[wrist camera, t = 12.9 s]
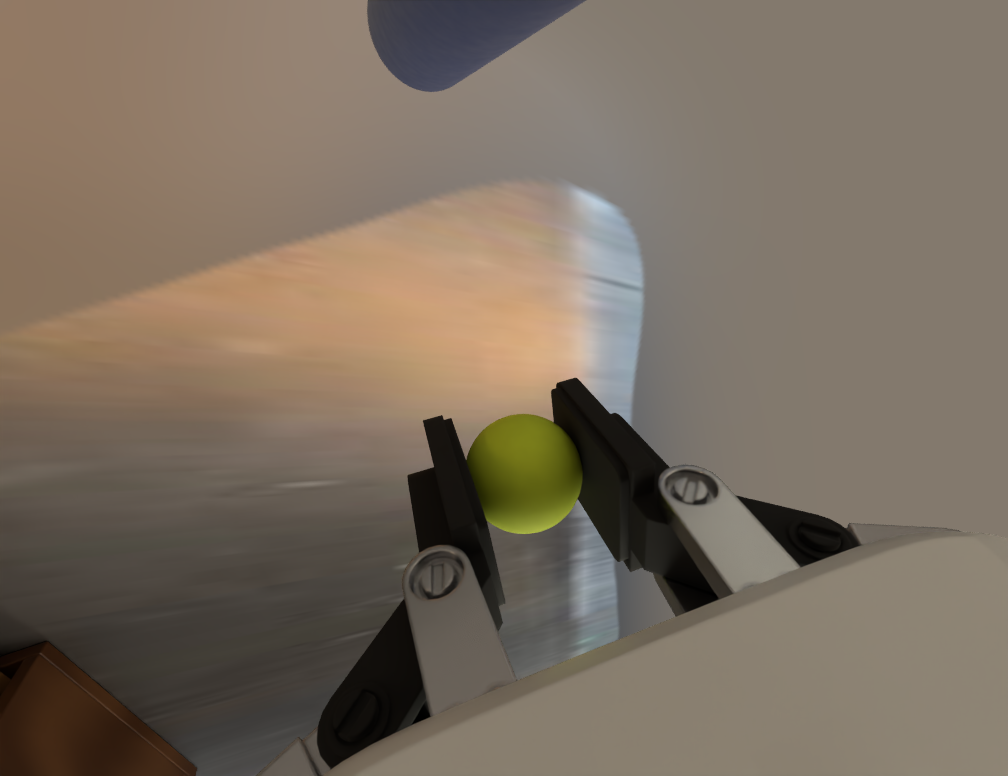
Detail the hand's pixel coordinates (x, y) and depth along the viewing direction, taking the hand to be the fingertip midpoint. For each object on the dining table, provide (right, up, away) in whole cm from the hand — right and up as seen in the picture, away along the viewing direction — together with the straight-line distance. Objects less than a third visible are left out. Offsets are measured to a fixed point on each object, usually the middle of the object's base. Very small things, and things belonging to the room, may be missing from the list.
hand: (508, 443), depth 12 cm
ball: (0, -1, -1) cm, 1 cm away
